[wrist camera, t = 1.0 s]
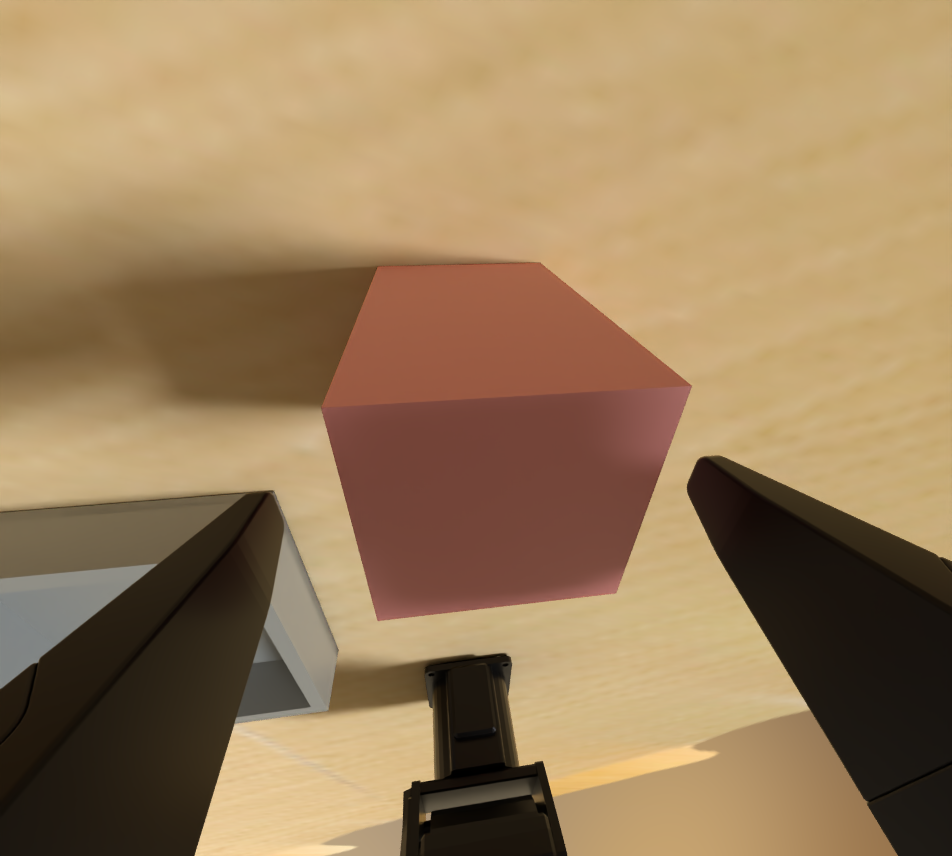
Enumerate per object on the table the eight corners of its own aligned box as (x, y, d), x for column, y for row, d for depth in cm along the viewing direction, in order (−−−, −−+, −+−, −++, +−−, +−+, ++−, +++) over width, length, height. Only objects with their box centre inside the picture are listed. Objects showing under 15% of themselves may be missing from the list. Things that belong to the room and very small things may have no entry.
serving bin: (338, 649, 26) (328, 710, 23) (100, 678, 24) (57, 748, 21) (273, 490, 17) (245, 555, 14) (-95, 520, 16) (-208, 598, 13)
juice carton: (527, 400, 16) (616, 593, 9) (396, 408, 16) (377, 621, 8) (539, 262, 13) (692, 386, 6) (377, 266, 13) (321, 407, 5)
